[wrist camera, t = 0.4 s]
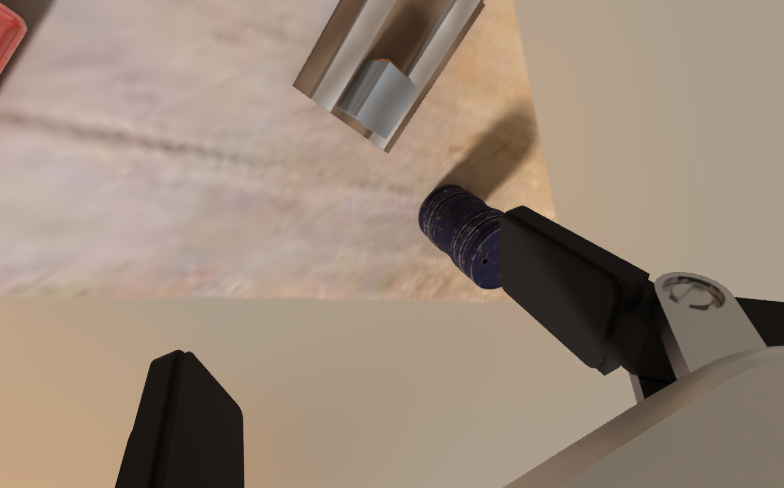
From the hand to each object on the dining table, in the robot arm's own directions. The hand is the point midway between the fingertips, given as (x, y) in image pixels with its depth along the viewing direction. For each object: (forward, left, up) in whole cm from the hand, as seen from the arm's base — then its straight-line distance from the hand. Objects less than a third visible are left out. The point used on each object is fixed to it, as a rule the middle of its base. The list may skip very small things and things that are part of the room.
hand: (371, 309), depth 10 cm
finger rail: (+7, +15, -36) cm, 39 cm away
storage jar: (+29, +2, -36) cm, 46 cm away
